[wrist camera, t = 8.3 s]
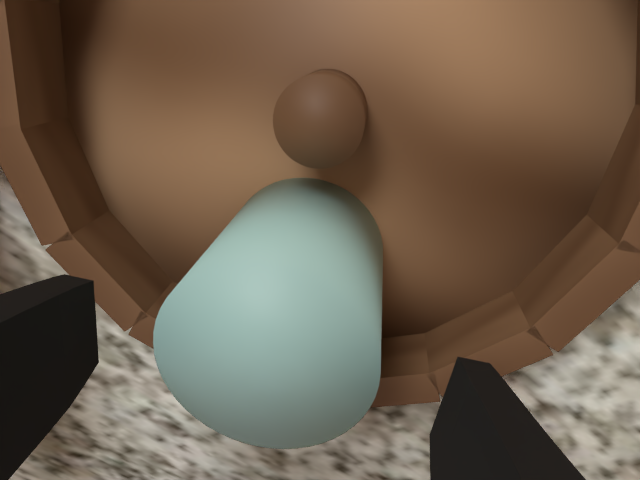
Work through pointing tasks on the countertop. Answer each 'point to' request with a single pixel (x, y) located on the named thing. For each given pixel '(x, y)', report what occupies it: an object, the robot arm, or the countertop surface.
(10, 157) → the tray
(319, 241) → the pale teal rounded piece
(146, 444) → the countertop surface
